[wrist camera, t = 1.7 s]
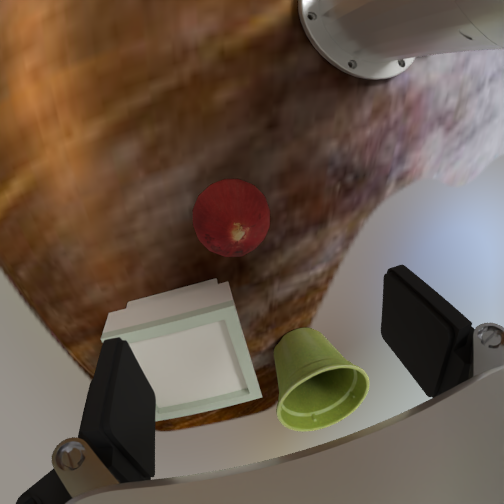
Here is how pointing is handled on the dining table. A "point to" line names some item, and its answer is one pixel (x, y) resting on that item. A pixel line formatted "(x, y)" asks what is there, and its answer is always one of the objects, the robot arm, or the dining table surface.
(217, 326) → the pedestal
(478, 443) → the robot arm
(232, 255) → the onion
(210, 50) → the dining table surface
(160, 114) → the dining table surface
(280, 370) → the plant pot
